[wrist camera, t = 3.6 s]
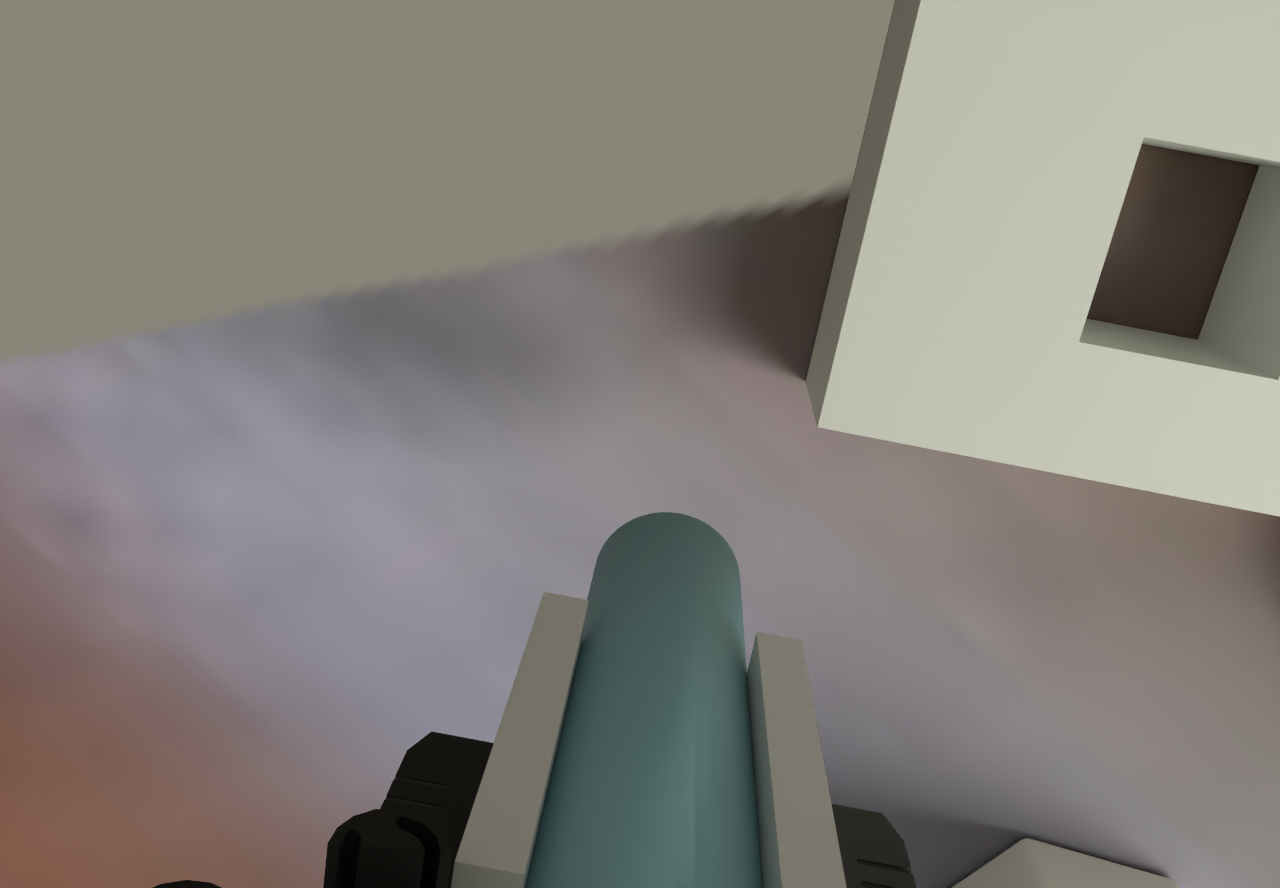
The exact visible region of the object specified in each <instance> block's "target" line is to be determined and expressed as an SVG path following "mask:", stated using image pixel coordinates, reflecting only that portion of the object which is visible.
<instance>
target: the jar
mask: <svg viewBox="0 0 1280 888" xmlns="http://www.w3.org/2000/svg"><path fill="white" fill-rule="evenodd" d="M951 888H1179V886H1178V885H1177V883H1176V882H1175V881H1174V880H1172V879H1170V878H1167V877H1163V876H1160V875H1156V874H1152V873H1149V872H1145V871H1142V870H1138V869H1135V868H1131V867H1128V866H1124V865H1120V864H1117V863H1113V862H1110V861H1106V860H1103V859H1099V858H1096V857H1092V856H1089V855H1085V854H1082V853H1078V852H1075V851H1071V850H1068V849H1064V848H1061V847H1058V846H1054V845H1051V844H1047V843H1044V842H1040V841H1037V840H1034V839H1030V838H1024V839H1022V840H1020V841H1019V842H1017V843H1016V844H1014V845H1013V846H1011V847H1010V848H1008V849H1007V850H1005V851H1004V852H1003V853H1001V854H1000V855H998V856H997V857H995V858H994V859H992V860H991V861H989V862H988V863H986V864H985V865H984V866H982V867H981V868H979V869H978V870H976V871H975V872H973V873H972V874H970V875H969V876H967V877H966V878H965V879H963V880H962V881H960V882H959V883H957V884H956V885H954V886H953V887H951Z"/></svg>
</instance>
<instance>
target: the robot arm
mask: <svg viewBox="0 0 1280 888" xmlns="http://www.w3.org/2000/svg"><path fill="white" fill-rule="evenodd" d="M588 602H589V600H584V599H579V598H573V597H568V596H563V595H557V594H552V593H547V592H544V593H543V596H542V600H541V603H540V606H539V609H538V612H537V615H536V618H535V621H534V624H533V627H532V630H531V633H530V636H529V639H528V642H527V645H526V648H525V651H524V654H523V657H522V660H521V663H520V666H519V669H518V672H517V675H516V678H515V681H514V684H513V687H512V690H511V693H510V696H509V699H508V702H507V705H506V708H505V711H504V714H503V717H502V720H501V723H500V726H499V729H498V732H497V735H496V738H495V741H494V743H490V742H484V741H479V740H474V739H468V738H463V737H458V736H452V735H447V734H442V733H436V732H431V733H429V734H428V735H427V736H425V737H424V738H423V739H421V740H420V741H419V742H418V743H416V744H415V745H414V746H412V747H411V748H410V749H408V750H407V752H406V754H405V756H404V759H403V761H402V763H401V765H400V767H399V769H398V772H397V774H396V778H395V780H393V782H392V785H391V787H390V789H389V791H388V793H387V797H386V800H384V802H383V804H382V806H381V808H380V809H375V810H372V811H369V812H365V813H362V814H359V815H356V816H353V817H352V818H350V819H349V820H348V821H346V822H345V823H343V824H342V825H340V826H339V827H338V828H337V829H336V831H335V832H334V834H333V836H332V837H331V839H330V841H329V842H328V847H327V857H326V867H325V877H324V887H323V888H525V885H526V880H527V876H528V872H529V867H530V863H531V859H532V854H533V850H534V846H535V841H536V837H537V833H538V828H539V824H540V819H541V815H542V811H543V806H544V802H545V798H546V793H547V789H548V785H549V780H550V776H551V772H552V767H553V763H554V759H555V754H556V750H557V746H558V741H559V737H560V733H561V728H562V724H563V720H564V715H565V711H566V707H567V702H568V698H569V694H570V689H571V685H572V681H573V676H574V672H575V668H576V663H577V659H578V655H579V650H580V646H581V641H582V635H583V630H584V624H585V619H586V613H587V607H588ZM747 686H748V699H749V713H750V726H751V739H752V753H753V766H754V780H755V793H756V807H757V820H758V833H759V847H760V860H761V874H762V887H763V888H916V885H915V881H914V878H913V874H911V867H910V863H909V859H908V855H907V852H906V848H905V844H904V841H903V839H902V838H901V837H900V836H899V834H898V833H897V832H896V830H895V829H894V828H893V827H892V825H891V824H890V823H889V821H888V820H887V819H886V818H885V816H884V815H883V814H882V813H877V812H872V811H866V810H861V809H856V808H850V807H845V806H840V805H834V804H831V799H830V793H829V788H828V782H827V777H826V771H825V766H824V760H823V755H822V749H821V744H820V738H819V733H818V727H817V722H816V716H815V711H814V705H813V700H812V694H811V689H810V683H809V678H808V672H807V667H806V661H805V656H804V650H803V645H802V640H798V639H793V638H787V637H782V636H777V635H771V634H766V633H761V632H757V634H756V638H755V642H754V646H753V650H752V655H751V659H750V663H749V667H748V671H747ZM153 888H221V887H219V886H217V885H214V884H212V883H209V882H200V881H190V880H184V881H177V882H171V883H165V884H160V885H157V886H155V887H153Z"/></svg>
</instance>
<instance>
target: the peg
mask: <svg viewBox="0 0 1280 888" xmlns="http://www.w3.org/2000/svg"><path fill="white" fill-rule="evenodd" d="M587 600H589V602H588V607H587V613H586V619H585V624H584V630H583V635H582V641H581V646H580V650H579V655H578V659H577V663H576V668H575V672H574V676H573V681H572V685H571V689H570V694H569V698H568V702H567V707H566V711H565V715H564V720H563V724H562V728H561V733H560V737H559V741H558V746H557V750H556V754H555V759H554V763H553V767H552V772H551V776H550V780H549V785H548V789H547V793H546V798H545V802H544V806H543V811H542V815H541V819H540V824H539V828H538V833H537V837H536V841H535V846H534V850H533V854H532V859H531V863H530V867H529V872H528V876H527V880H526V885H525V888H763V887H762V874H761V860H760V847H759V833H758V820H757V807H756V793H755V780H754V766H753V753H752V739H751V726H750V713H749V699H748V686H747V667H746V654H745V641H744V627H743V614H742V601H741V588H740V575H739V568H738V564H737V561H736V558H735V556H734V553H733V551H732V549H731V548H730V546H729V545H728V543H727V542H726V541H725V539H724V538H723V537H722V536H721V535H720V534H719V533H718V532H717V531H716V530H715V529H713V528H712V527H711V526H709V525H708V524H706V523H704V522H702V521H700V520H699V519H696V518H693V517H691V516H688V515H684V514H679V513H671V512H660V513H652V514H648V515H644V516H640V517H638V518H635V519H633V520H631V521H629V522H627V523H625V524H624V525H623V526H621V527H620V528H618V529H617V530H616V531H615V532H614V533H613V534H612V535H611V536H610V537H609V538H608V540H607V541H606V542H605V544H604V545H603V547H602V549H601V550H600V553H599V555H598V558H597V561H596V565H595V569H594V574H593V578H592V582H591V586H590V590H589V595H588V599H587Z"/></svg>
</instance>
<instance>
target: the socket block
mask: <svg viewBox="0 0 1280 888" xmlns="http://www.w3.org/2000/svg"><path fill="white" fill-rule="evenodd" d="M1141 144H1146V145H1152V146H1157V147H1162V148H1168V149H1173V150H1179V151H1184V152H1189V153H1195V154H1200V155H1206V156H1211V157H1216V158H1222V159H1227V160H1233V161H1238V162H1243V163H1249V164H1254V165H1259V168H1258V171H1257V174H1256V177H1255V179H1254V182H1253V185H1252V188H1251V191H1250V194H1249V196H1248V199H1247V202H1246V205H1245V208H1244V211H1243V213H1242V216H1241V219H1240V222H1239V225H1238V228H1237V230H1236V233H1235V236H1234V239H1233V242H1232V245H1231V247H1230V250H1229V253H1228V256H1227V259H1226V261H1225V264H1224V267H1223V270H1222V273H1221V276H1220V278H1219V281H1218V284H1217V287H1216V290H1215V293H1214V295H1213V298H1212V301H1211V304H1210V307H1209V310H1208V312H1207V315H1206V318H1205V321H1204V324H1203V327H1202V329H1201V332H1200V335H1199V338H1198V340H1197V339H1191V338H1186V337H1181V336H1176V335H1170V334H1165V333H1160V332H1155V331H1149V330H1144V329H1139V328H1133V327H1128V326H1123V325H1118V324H1112V323H1107V322H1102V321H1097V320H1091V319H1086V318H1087V315H1088V312H1089V309H1090V306H1091V302H1092V299H1093V296H1094V293H1095V290H1096V287H1097V283H1098V280H1099V277H1100V274H1101V271H1102V268H1103V265H1104V261H1105V258H1106V255H1107V252H1108V249H1109V246H1110V242H1111V239H1112V236H1113V233H1114V230H1115V227H1116V223H1117V220H1118V217H1119V214H1120V211H1121V208H1122V205H1123V201H1124V198H1125V195H1126V192H1127V189H1128V186H1129V182H1130V179H1131V176H1132V173H1133V170H1134V167H1135V163H1136V160H1137V157H1138V154H1139V151H1140V148H1141ZM806 385H807V389H808V393H809V397H810V401H811V404H812V408H813V412H814V416H815V419H816V423H817V427H820V428H825V429H830V430H835V431H840V432H845V433H851V434H856V435H861V436H866V437H871V438H876V439H882V440H887V441H892V442H897V443H902V444H907V445H913V446H918V447H923V448H928V449H933V450H938V451H944V452H949V453H954V454H959V455H964V456H969V457H975V458H980V459H985V460H990V461H995V462H1000V463H1006V464H1011V465H1016V466H1021V467H1026V468H1031V469H1037V470H1042V471H1047V472H1052V473H1057V474H1062V475H1068V476H1073V477H1078V478H1083V479H1088V480H1093V481H1099V482H1104V483H1109V484H1114V485H1119V486H1124V487H1130V488H1135V489H1140V490H1145V491H1150V492H1155V493H1161V494H1166V495H1171V496H1176V497H1181V498H1186V499H1192V500H1197V501H1202V502H1207V503H1212V504H1217V505H1223V506H1228V507H1233V508H1238V509H1243V510H1248V511H1254V512H1259V513H1264V514H1269V515H1274V516H1279V517H1280V0H895V3H894V7H893V11H892V16H891V20H890V24H889V28H888V33H887V37H886V41H885V45H884V50H883V54H882V59H881V62H880V67H879V71H878V76H877V80H876V84H875V88H874V93H873V97H872V101H871V105H870V109H869V114H868V118H867V122H866V126H865V131H864V135H863V140H862V144H861V148H860V152H859V156H858V161H857V165H856V169H855V173H854V178H853V182H852V186H851V190H850V195H849V199H848V203H847V207H846V212H845V216H844V220H843V224H842V229H841V233H840V237H839V242H838V246H837V250H836V254H835V259H834V263H833V267H832V271H831V276H830V280H829V284H828V288H827V293H826V297H825V301H824V305H823V310H822V314H821V318H820V323H819V327H818V331H817V335H816V340H815V344H814V348H813V352H812V357H811V361H810V365H809V369H808V374H807V378H806Z"/></svg>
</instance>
